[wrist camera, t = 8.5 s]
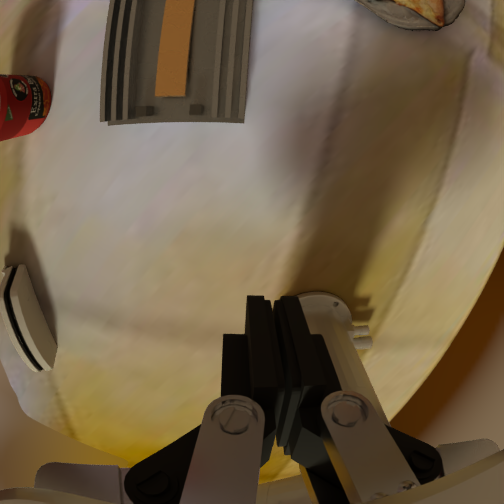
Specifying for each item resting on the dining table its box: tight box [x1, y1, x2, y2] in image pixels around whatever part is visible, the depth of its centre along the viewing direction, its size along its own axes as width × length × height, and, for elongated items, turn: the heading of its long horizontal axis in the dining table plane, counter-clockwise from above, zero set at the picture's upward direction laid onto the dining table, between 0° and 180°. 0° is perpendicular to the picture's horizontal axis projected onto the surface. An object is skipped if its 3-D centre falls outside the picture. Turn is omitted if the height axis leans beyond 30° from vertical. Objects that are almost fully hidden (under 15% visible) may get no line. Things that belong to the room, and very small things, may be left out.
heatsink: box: [100, 0, 253, 126], centre depth 24 cm, size 14×17×6 cm
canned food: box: [0, 74, 51, 141], centre depth 22 cm, size 8×8×11 cm
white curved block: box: [0, 264, 58, 372], centre depth 36 cm, size 17×5×10 cm, turn 0°
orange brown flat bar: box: [155, 0, 195, 97], centre depth 22 cm, size 3×12×1 cm, turn 176°
